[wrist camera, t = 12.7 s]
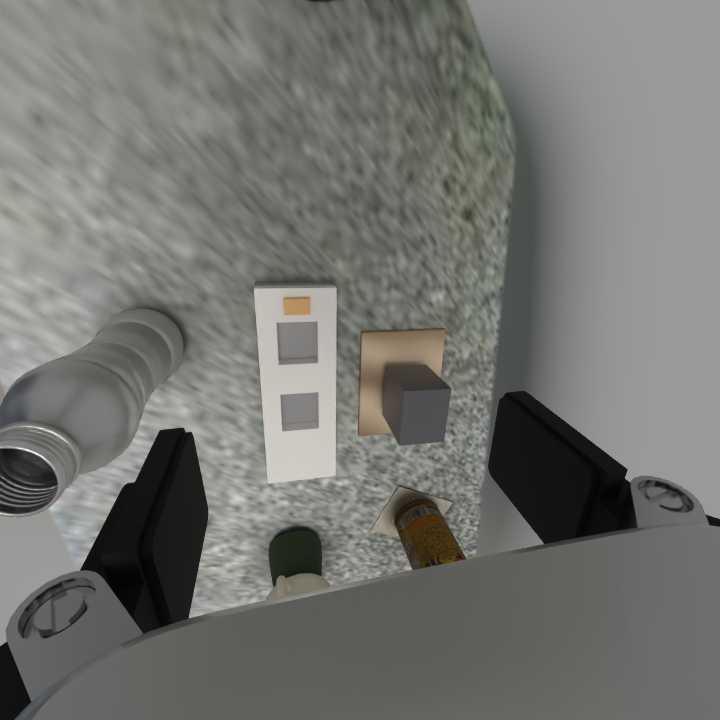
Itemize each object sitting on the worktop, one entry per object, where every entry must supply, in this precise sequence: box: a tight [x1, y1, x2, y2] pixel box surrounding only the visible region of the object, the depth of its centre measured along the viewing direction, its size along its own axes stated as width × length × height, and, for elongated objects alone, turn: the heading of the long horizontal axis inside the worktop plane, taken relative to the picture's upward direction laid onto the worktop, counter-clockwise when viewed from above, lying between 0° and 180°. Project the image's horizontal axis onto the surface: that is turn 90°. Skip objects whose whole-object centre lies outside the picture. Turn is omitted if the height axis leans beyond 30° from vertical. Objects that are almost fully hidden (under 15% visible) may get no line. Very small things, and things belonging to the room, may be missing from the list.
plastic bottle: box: [0, 309, 184, 517], centre depth 25 cm, size 6×7×20 cm
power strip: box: [254, 282, 337, 484], centre depth 37 cm, size 20×7×4 cm, turn 179°
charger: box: [382, 364, 451, 446], centre depth 38 cm, size 6×4×7 cm
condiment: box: [372, 487, 466, 570], centre depth 43 cm, size 7×8×12 cm
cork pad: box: [358, 329, 446, 436], centre depth 41 cm, size 12×9×1 cm
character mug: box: [266, 530, 330, 600], centre depth 40 cm, size 11×7×13 cm, turn 18°
